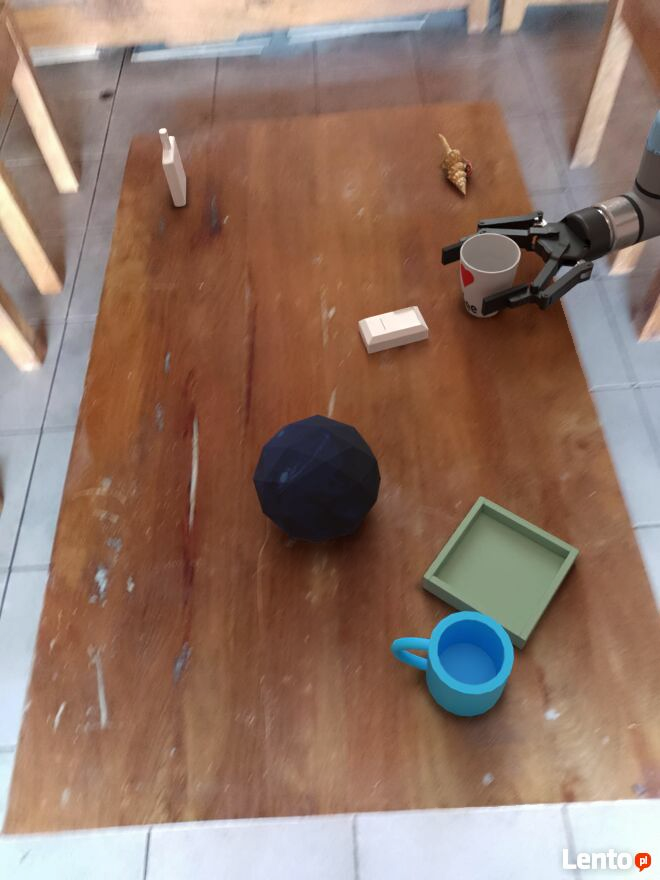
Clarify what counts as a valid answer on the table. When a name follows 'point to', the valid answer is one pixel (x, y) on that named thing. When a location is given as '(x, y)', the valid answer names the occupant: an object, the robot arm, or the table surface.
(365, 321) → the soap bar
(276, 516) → the decorative orb
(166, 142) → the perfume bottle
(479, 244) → the cup
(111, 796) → the table surface
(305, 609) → the table surface
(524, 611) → the tray
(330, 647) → the table surface
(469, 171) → the spiral snail shell
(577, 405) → the table surface
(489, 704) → the mug
